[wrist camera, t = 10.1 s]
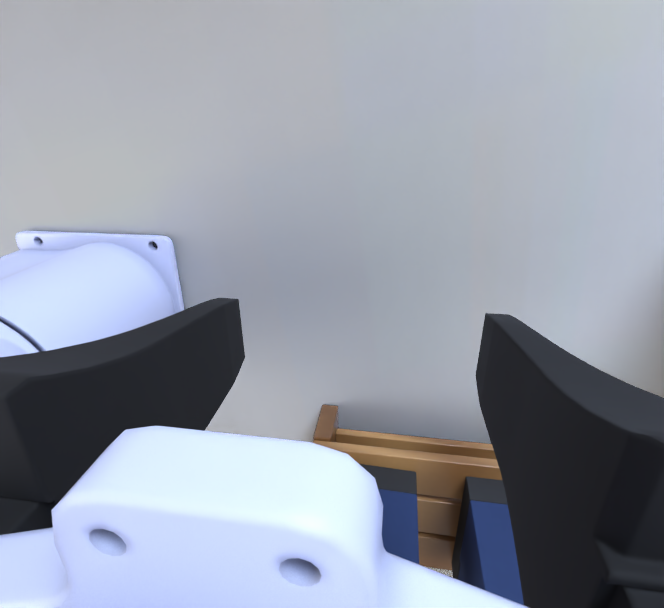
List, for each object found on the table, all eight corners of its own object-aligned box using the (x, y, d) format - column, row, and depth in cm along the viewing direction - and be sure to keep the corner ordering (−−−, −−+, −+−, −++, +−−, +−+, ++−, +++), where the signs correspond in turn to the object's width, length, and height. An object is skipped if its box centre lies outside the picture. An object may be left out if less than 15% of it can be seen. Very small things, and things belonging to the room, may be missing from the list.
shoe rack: (324, 506, 30) (315, 553, 27) (322, 404, 26) (310, 444, 23) (532, 533, 28) (549, 587, 24) (562, 426, 24) (587, 474, 21)
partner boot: (465, 475, 22) (487, 607, 16) (554, 485, 21) (611, 626, 15) (451, 561, 25) (465, 699, 19) (529, 573, 24) (568, 719, 18)
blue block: (335, 459, 23) (311, 578, 17) (416, 471, 22) (420, 597, 17) (332, 543, 26) (311, 669, 20) (403, 556, 25) (403, 688, 20)
